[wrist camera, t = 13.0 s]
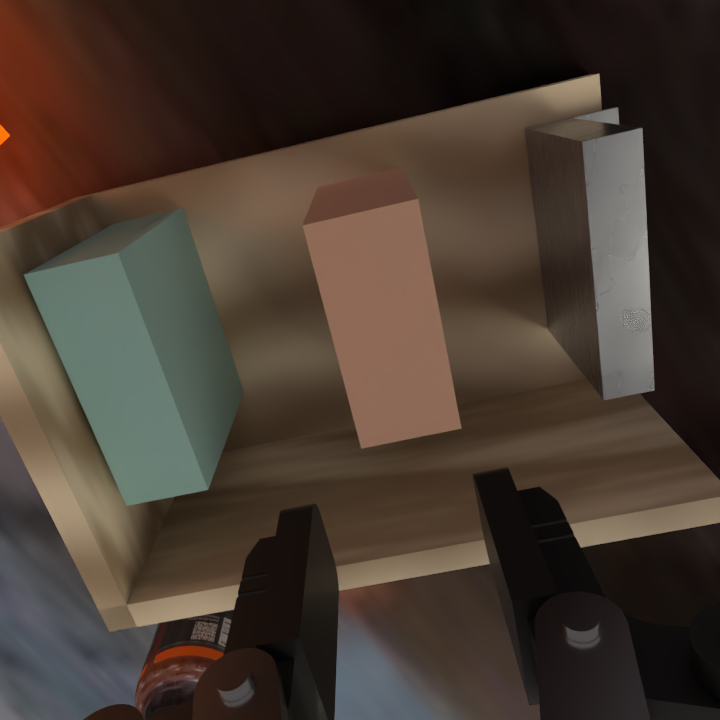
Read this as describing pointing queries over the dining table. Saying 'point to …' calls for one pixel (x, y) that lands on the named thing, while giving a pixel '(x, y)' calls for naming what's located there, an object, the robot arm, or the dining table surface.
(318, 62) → the dining table surface
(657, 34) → the dining table surface
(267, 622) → the robot arm
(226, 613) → the supplement bottle
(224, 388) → the teal book
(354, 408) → the tan rectangular block
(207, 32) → the dining table surface
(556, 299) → the bookend
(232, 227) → the rack
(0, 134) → the orange juice
